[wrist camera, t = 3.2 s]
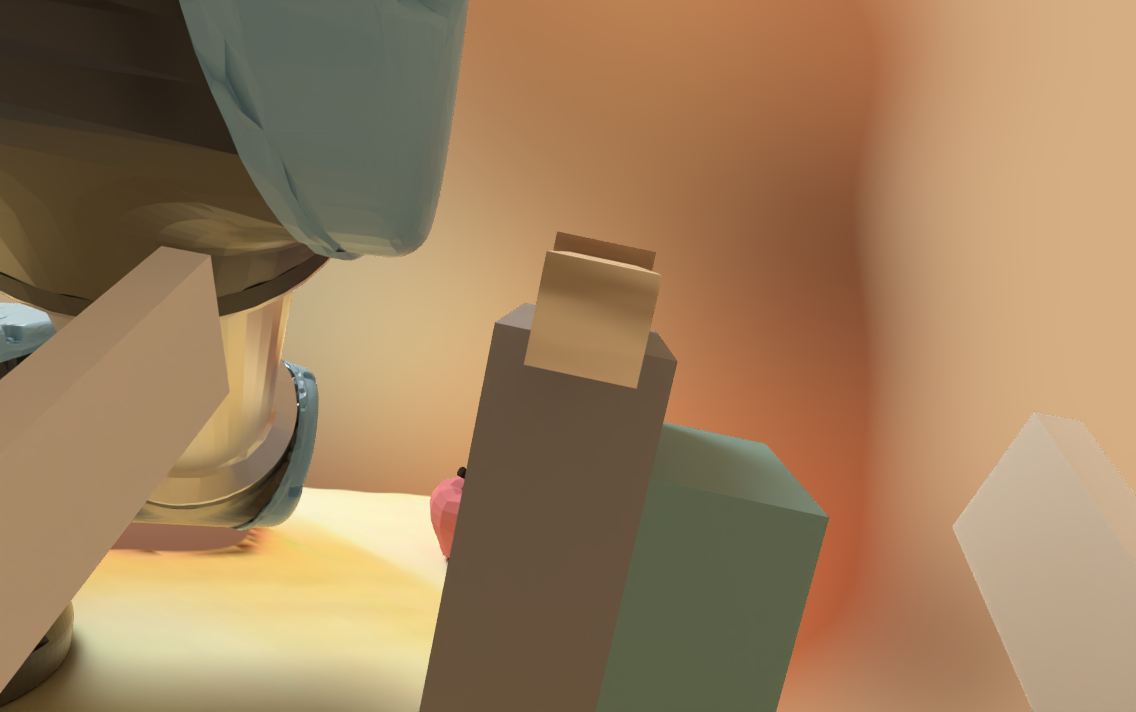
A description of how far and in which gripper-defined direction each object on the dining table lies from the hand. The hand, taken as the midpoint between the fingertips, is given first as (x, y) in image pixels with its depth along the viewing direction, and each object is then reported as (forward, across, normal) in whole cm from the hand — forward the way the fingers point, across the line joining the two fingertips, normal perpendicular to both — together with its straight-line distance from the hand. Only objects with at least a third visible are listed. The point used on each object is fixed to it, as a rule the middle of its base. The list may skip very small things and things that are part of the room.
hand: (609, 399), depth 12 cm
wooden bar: (+21, 0, -13) cm, 25 cm away
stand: (+12, +4, -42) cm, 44 cm away
